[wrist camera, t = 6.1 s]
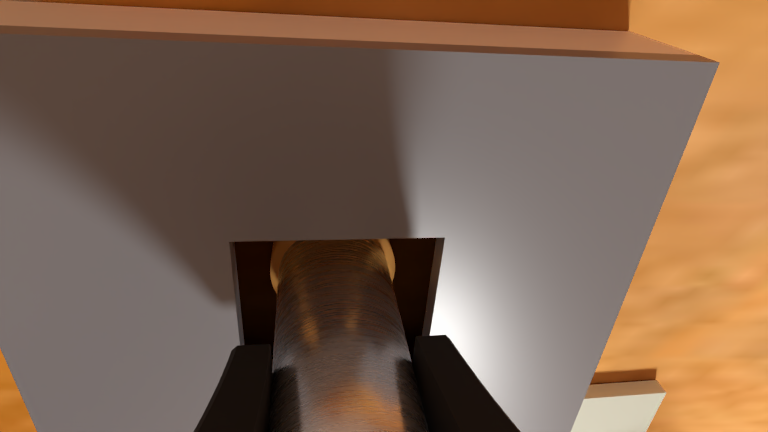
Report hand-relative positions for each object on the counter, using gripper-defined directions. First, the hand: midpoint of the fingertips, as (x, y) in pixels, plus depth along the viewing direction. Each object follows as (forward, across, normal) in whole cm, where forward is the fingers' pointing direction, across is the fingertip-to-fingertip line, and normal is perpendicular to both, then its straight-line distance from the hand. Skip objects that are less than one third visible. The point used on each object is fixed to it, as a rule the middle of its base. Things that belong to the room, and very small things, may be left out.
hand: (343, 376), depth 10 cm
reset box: (+5, 0, 0) cm, 5 cm away
